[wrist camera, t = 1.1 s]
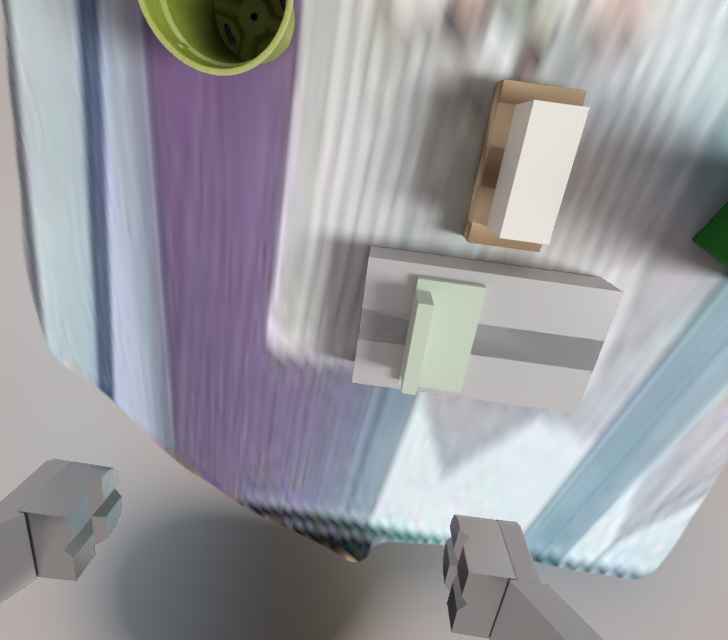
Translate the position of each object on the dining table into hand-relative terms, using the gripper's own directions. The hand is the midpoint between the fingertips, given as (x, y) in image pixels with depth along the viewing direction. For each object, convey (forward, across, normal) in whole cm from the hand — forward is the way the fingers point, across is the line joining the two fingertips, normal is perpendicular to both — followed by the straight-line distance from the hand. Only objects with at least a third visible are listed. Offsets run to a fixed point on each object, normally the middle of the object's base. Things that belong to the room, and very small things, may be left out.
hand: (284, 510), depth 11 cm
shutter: (+27, -8, +6) cm, 29 cm away
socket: (+31, -11, +5) cm, 34 cm away
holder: (+31, -12, -9) cm, 34 cm away
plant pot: (+30, +10, -17) cm, 36 cm away
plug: (+30, -12, -9) cm, 34 cm away
